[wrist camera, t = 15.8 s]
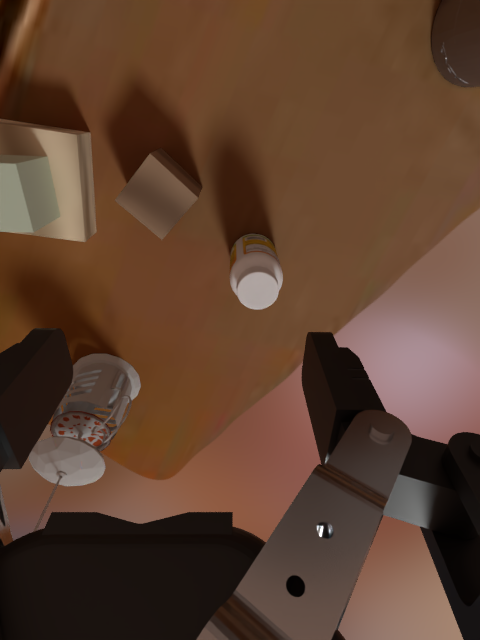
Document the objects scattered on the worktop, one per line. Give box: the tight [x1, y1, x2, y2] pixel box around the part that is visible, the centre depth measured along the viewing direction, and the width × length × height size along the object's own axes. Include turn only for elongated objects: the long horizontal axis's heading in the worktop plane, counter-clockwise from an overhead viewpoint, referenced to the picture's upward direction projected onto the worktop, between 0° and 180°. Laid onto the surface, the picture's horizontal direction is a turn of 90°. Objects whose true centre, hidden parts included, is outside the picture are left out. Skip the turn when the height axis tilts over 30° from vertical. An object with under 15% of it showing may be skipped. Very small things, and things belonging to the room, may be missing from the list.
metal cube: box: [115, 148, 202, 239], centre depth 36 cm, size 6×6×6 cm
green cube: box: [0, 155, 60, 233], centre depth 32 cm, size 6×6×6 cm
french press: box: [29, 354, 141, 532], centre depth 40 cm, size 10×12×25 cm
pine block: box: [0, 119, 97, 242], centre depth 36 cm, size 10×10×4 cm
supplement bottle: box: [230, 234, 283, 309], centre depth 38 cm, size 5×5×10 cm
